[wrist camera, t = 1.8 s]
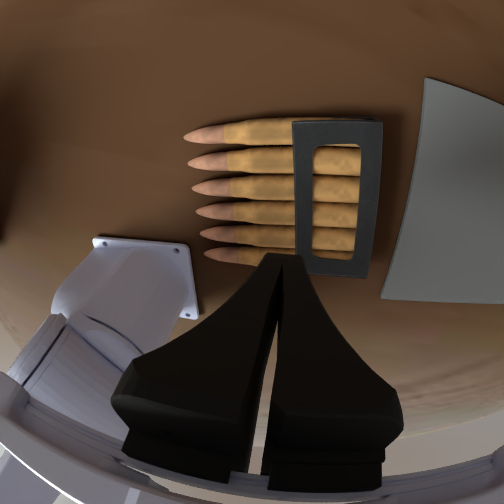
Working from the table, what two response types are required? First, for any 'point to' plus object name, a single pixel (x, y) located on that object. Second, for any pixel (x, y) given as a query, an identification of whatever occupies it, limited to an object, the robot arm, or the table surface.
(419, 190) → the mat
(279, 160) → the ammunition clip
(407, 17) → the table surface
